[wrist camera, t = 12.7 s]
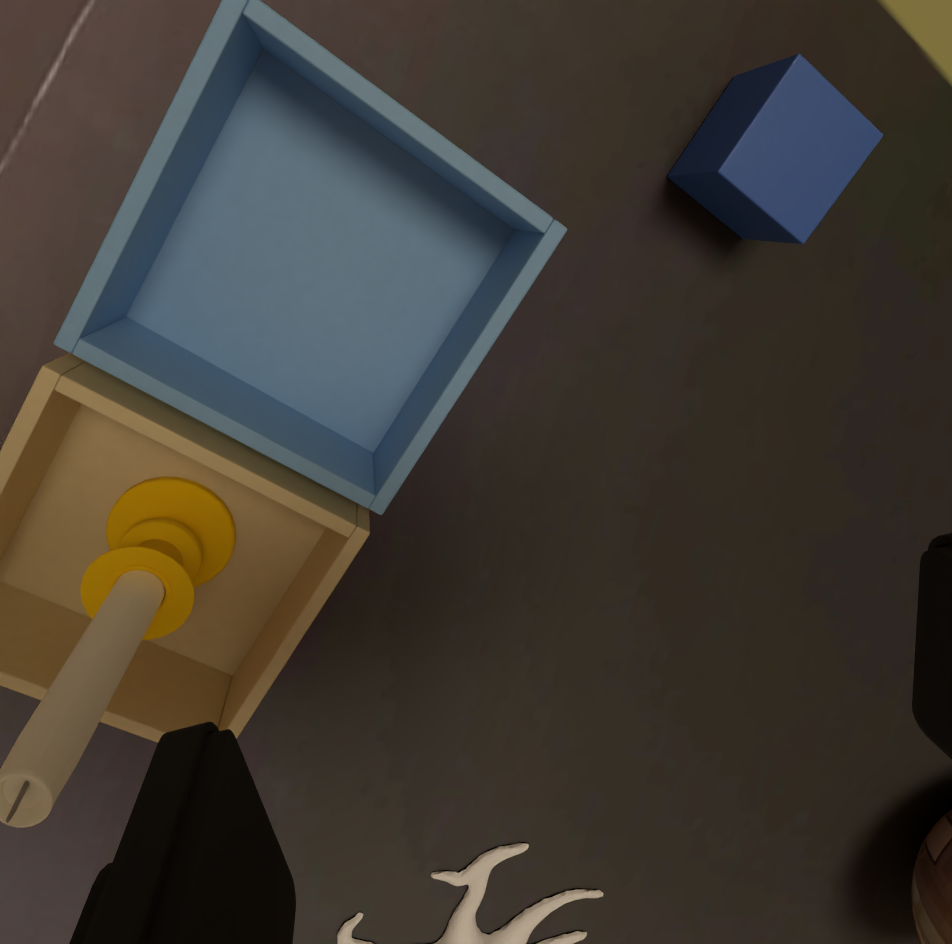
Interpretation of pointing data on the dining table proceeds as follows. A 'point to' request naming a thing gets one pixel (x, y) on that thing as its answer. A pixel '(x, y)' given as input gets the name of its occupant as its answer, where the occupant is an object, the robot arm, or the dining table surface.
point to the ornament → (934, 885)
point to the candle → (117, 627)
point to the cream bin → (84, 539)
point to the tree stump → (462, 932)
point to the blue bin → (305, 261)
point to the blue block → (775, 152)
